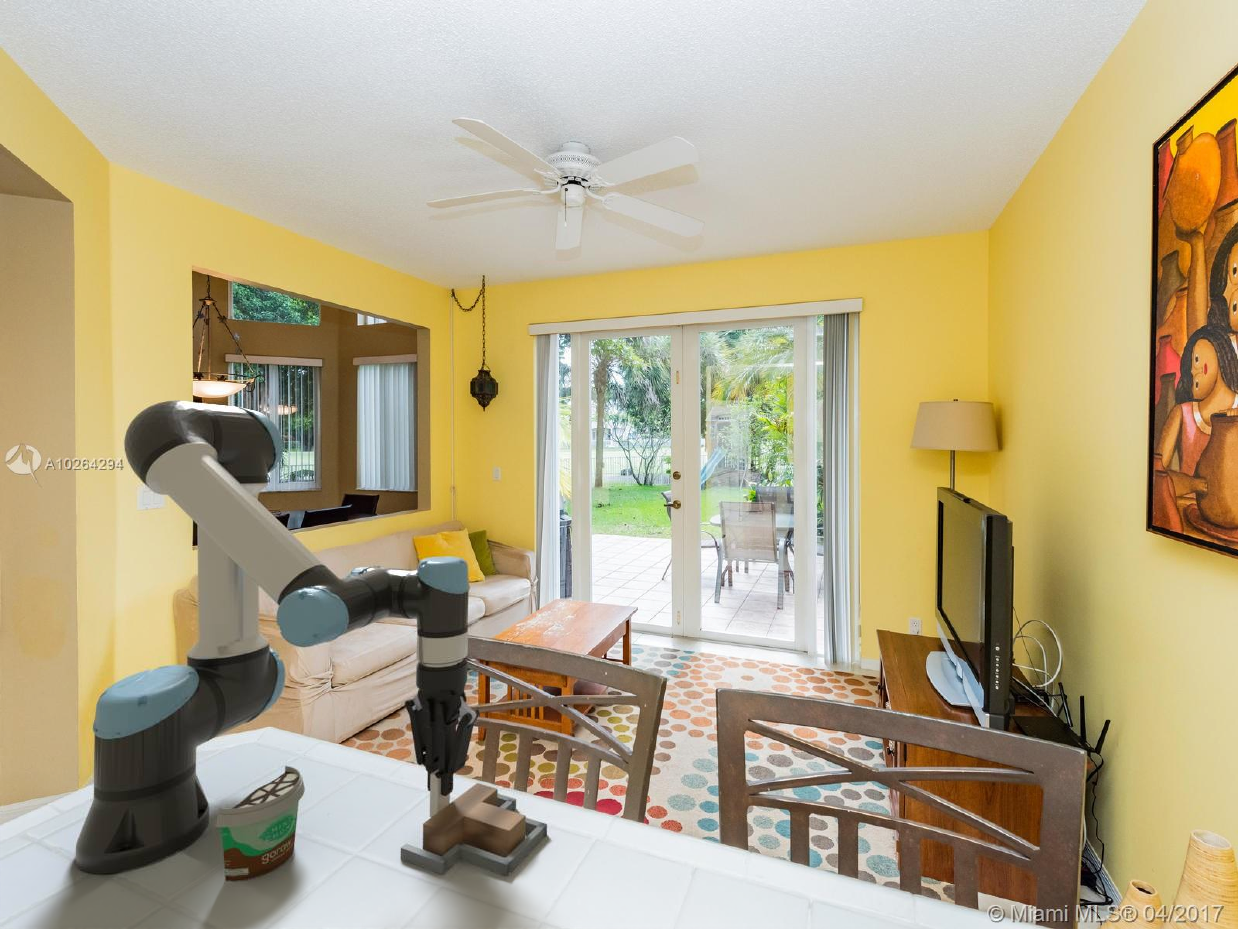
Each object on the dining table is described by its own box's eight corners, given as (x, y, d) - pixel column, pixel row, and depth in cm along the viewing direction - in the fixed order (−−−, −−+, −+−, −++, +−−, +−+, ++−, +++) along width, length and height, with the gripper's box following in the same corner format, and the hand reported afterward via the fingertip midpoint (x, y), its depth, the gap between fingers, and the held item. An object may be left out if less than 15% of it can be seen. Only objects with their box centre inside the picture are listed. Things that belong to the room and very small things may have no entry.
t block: (422, 852, 83) (423, 823, 83) (477, 808, 94) (477, 783, 94) (491, 877, 78) (491, 847, 78) (540, 828, 89) (540, 801, 89)
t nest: (400, 858, 82) (400, 847, 82) (478, 797, 97) (478, 787, 97) (490, 893, 75) (490, 881, 75) (559, 821, 90) (559, 811, 90)
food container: (256, 896, 74) (257, 817, 74) (215, 888, 75) (216, 811, 76) (323, 836, 86) (324, 768, 86) (287, 831, 88) (288, 764, 88)
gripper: (492, 658, 90) (489, 812, 90) (427, 646, 96) (425, 790, 96) (459, 673, 83) (456, 839, 83) (392, 659, 89) (389, 815, 89)
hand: (439, 813), depth 89 cm, fingers closed
